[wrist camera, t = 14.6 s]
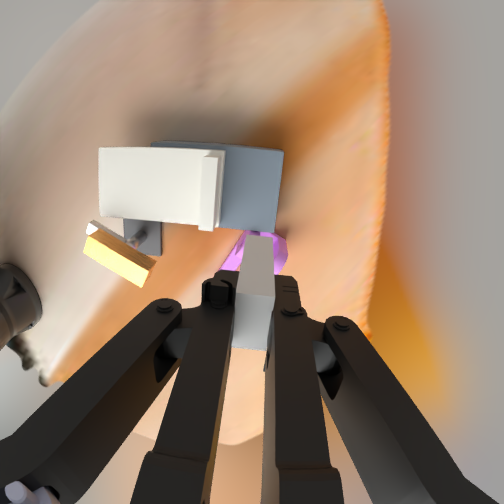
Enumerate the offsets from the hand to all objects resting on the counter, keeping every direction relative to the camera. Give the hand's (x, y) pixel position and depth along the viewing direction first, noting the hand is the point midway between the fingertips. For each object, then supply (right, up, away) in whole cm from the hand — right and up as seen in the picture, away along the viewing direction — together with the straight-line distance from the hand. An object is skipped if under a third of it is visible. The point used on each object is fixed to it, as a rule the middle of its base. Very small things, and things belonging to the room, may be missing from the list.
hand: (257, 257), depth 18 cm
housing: (-8, +7, +24) cm, 26 cm away
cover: (-12, +9, +18) cm, 23 cm away
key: (-18, +3, +25) cm, 31 cm away
